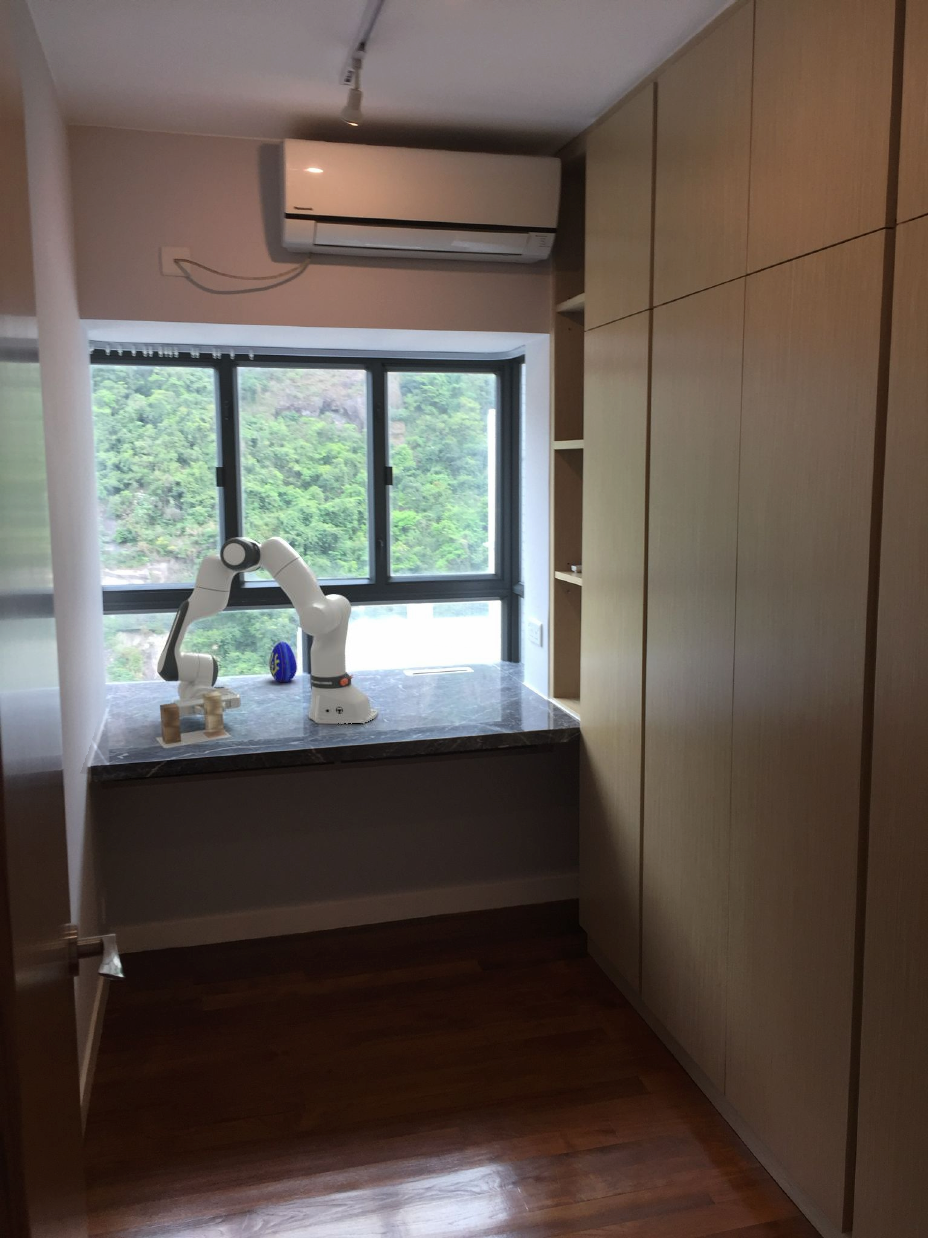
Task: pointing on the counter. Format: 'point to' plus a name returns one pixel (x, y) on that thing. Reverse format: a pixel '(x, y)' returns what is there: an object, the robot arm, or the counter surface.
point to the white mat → (196, 737)
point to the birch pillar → (213, 711)
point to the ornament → (282, 663)
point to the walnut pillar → (170, 723)
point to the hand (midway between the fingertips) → (214, 710)
